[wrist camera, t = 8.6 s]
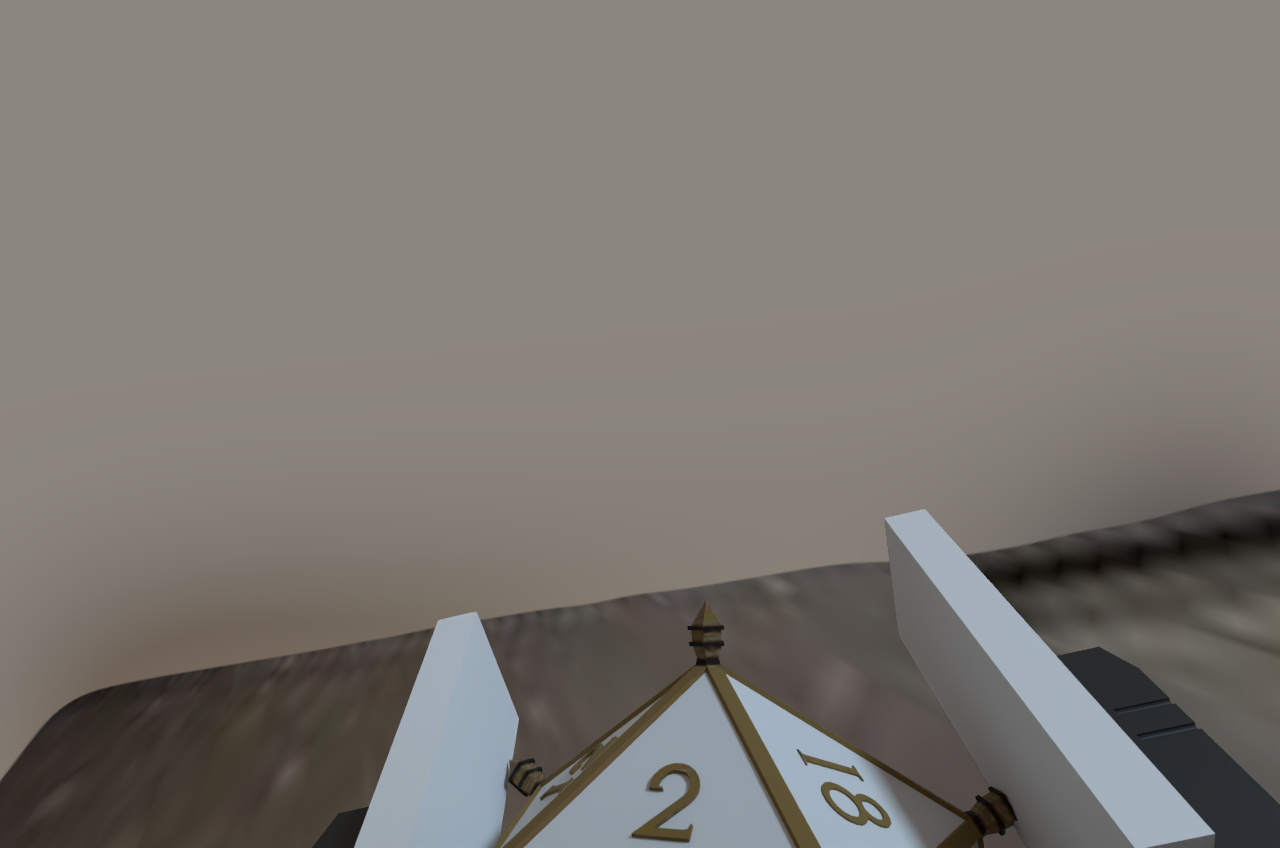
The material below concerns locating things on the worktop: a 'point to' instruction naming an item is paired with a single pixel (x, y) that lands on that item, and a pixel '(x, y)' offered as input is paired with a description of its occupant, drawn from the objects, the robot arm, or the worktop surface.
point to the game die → (734, 779)
